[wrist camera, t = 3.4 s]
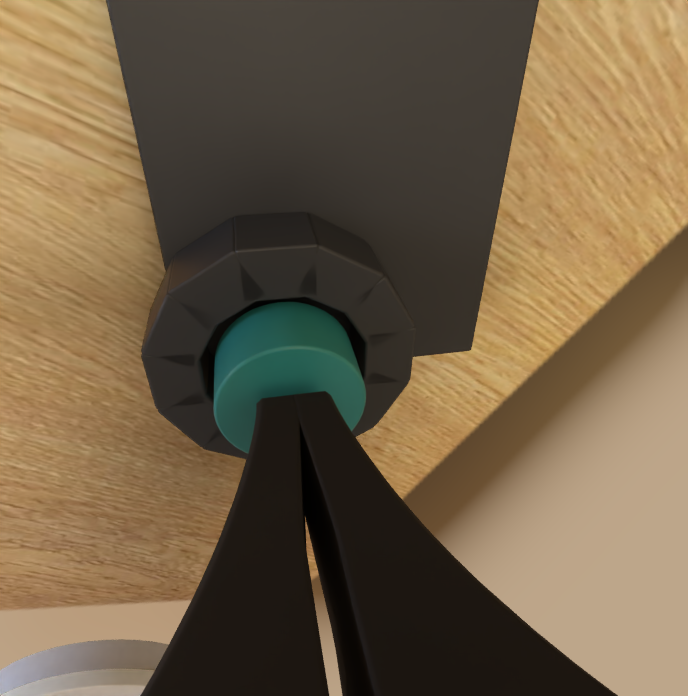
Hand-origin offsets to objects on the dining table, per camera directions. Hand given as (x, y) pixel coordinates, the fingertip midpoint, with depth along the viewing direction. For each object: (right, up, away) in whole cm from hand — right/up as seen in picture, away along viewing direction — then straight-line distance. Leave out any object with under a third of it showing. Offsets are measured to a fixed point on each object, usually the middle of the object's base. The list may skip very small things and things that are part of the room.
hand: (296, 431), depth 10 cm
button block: (0, +6, +3) cm, 6 cm away
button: (0, +1, +2) cm, 2 cm away
